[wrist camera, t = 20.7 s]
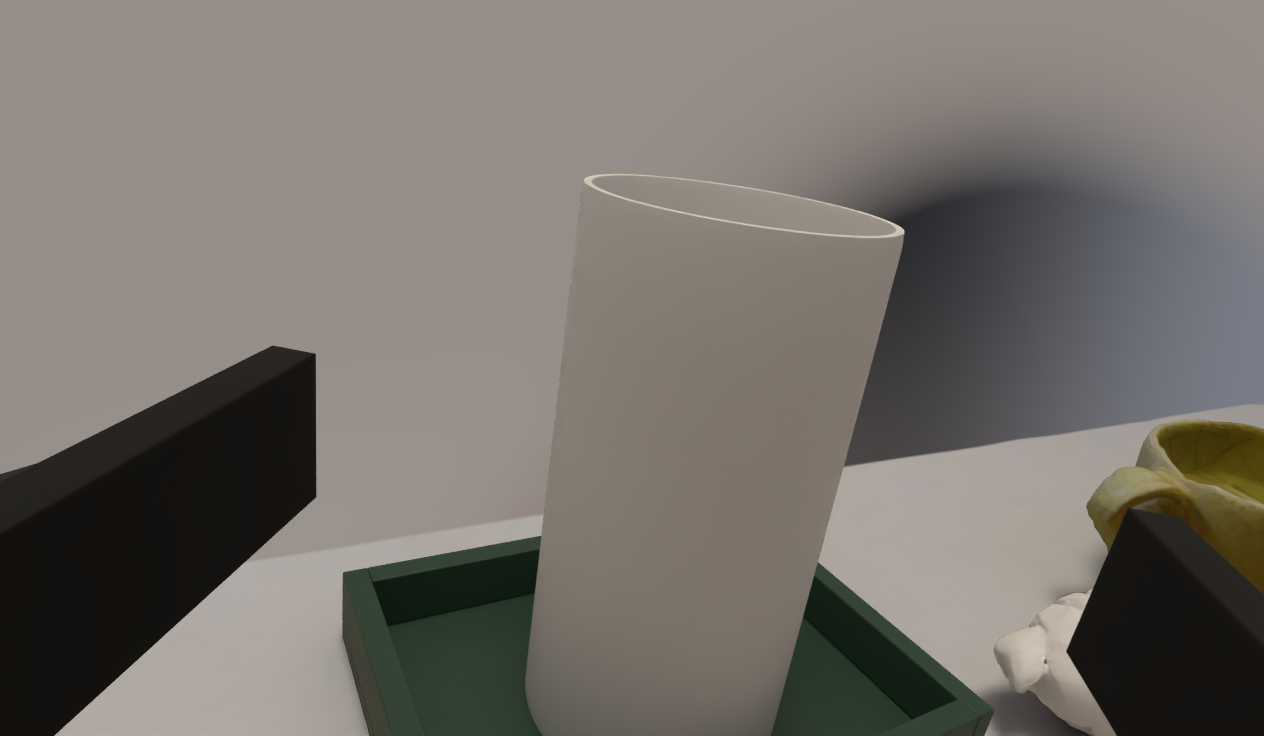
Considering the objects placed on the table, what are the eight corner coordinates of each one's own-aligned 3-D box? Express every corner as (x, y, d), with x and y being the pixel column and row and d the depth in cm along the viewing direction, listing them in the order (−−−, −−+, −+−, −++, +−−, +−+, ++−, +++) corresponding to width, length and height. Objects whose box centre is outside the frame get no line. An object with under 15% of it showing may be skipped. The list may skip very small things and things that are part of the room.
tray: (453, 1043, 15) (460, 961, 14) (342, 634, 26) (342, 571, 25) (971, 771, 24) (996, 709, 23) (731, 547, 34) (742, 498, 33)
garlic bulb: (945, 664, 29) (988, 545, 27) (1087, 673, 29) (1138, 557, 27) (1025, 789, 23) (1085, 653, 22) (1196, 797, 24) (1267, 665, 22)
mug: (1243, 523, 40) (1336, 378, 34) (1382, 709, 32) (1537, 563, 26) (1005, 522, 41) (1053, 383, 35) (1080, 701, 33) (1159, 560, 27)
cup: (824, 757, 23) (981, 246, 17) (574, 833, 19) (671, 223, 14) (698, 591, 30) (782, 187, 24) (497, 625, 26) (540, 163, 21)
